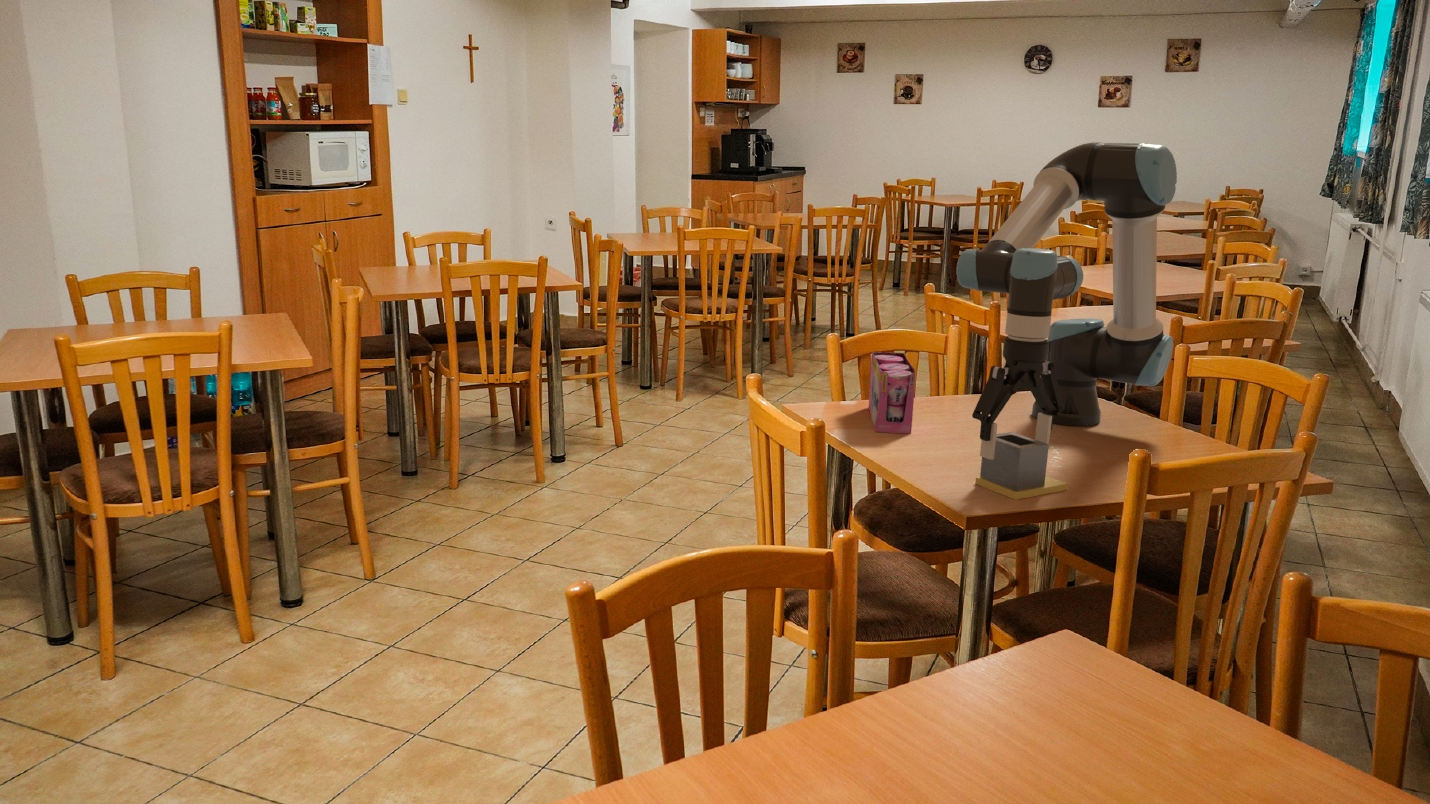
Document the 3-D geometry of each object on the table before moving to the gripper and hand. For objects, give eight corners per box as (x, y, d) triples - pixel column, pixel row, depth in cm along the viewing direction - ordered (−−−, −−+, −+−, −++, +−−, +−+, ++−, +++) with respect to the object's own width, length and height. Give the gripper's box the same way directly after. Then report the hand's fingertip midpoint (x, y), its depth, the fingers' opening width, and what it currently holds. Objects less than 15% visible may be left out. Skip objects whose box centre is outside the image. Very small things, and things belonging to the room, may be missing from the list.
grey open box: (980, 477, 195) (983, 435, 193) (1007, 472, 198) (1011, 431, 196) (1016, 492, 187) (1020, 448, 185) (1044, 486, 190) (1048, 444, 189)
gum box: (913, 436, 226) (918, 374, 223) (876, 434, 227) (880, 372, 224) (900, 409, 250) (905, 352, 246) (867, 407, 250) (871, 351, 247)
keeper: (1025, 474, 201) (1029, 438, 200) (1066, 489, 193) (1071, 452, 191) (975, 483, 195) (978, 446, 193) (1015, 499, 187) (1019, 460, 185)
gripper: (1059, 329, 195) (1047, 440, 200) (958, 338, 183) (948, 455, 188) (1092, 336, 189) (1078, 450, 194) (989, 346, 177) (978, 467, 182)
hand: (1014, 453), depth 191 cm, fingers open, 13 cm apart
